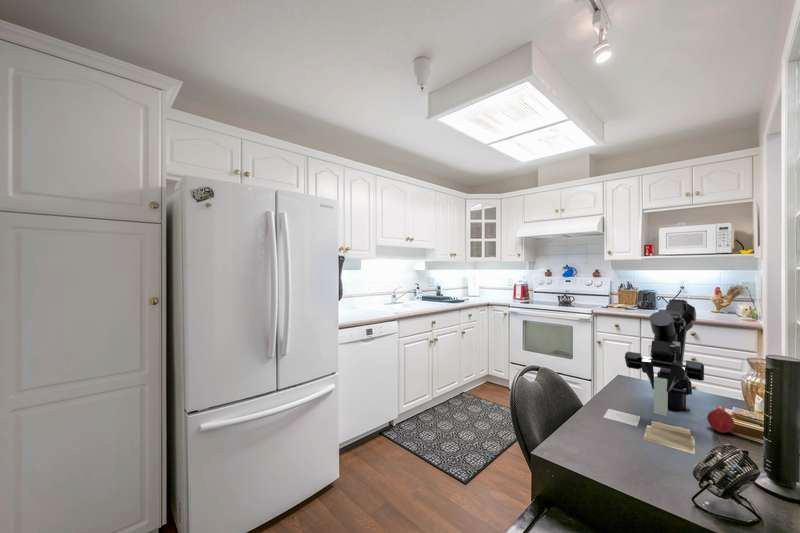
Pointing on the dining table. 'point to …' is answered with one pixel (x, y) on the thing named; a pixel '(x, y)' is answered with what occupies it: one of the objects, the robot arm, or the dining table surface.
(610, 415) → the mat
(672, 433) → the offcut rack
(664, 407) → the pale green rectangular block
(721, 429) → the onion
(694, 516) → the dining table surface
